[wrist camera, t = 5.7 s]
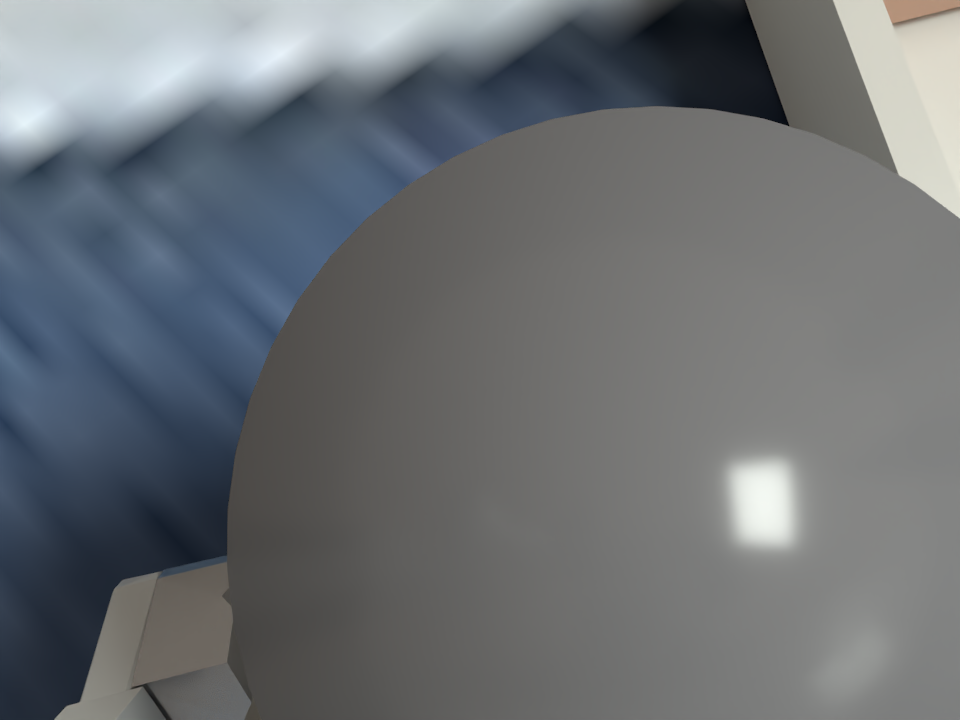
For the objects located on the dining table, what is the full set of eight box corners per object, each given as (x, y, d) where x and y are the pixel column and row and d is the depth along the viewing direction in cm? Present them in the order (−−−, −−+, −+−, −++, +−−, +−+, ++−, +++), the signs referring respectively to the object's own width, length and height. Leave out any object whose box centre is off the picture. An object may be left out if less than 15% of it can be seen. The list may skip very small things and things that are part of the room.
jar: (455, 722, 15) (326, 1133, 5) (384, 414, 16) (159, 217, 6) (765, 643, 15) (1290, 884, 5) (673, 341, 16) (939, 22, 6)
